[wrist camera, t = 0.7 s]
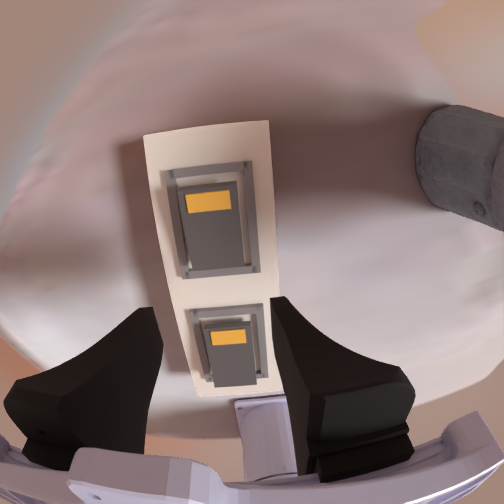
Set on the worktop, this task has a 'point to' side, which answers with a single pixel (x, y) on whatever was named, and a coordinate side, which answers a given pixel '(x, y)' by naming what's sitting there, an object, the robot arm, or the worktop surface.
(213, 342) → the rocker
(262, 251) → the power strip
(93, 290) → the worktop surface
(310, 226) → the worktop surface
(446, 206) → the moka pot
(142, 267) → the worktop surface
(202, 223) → the rocker
